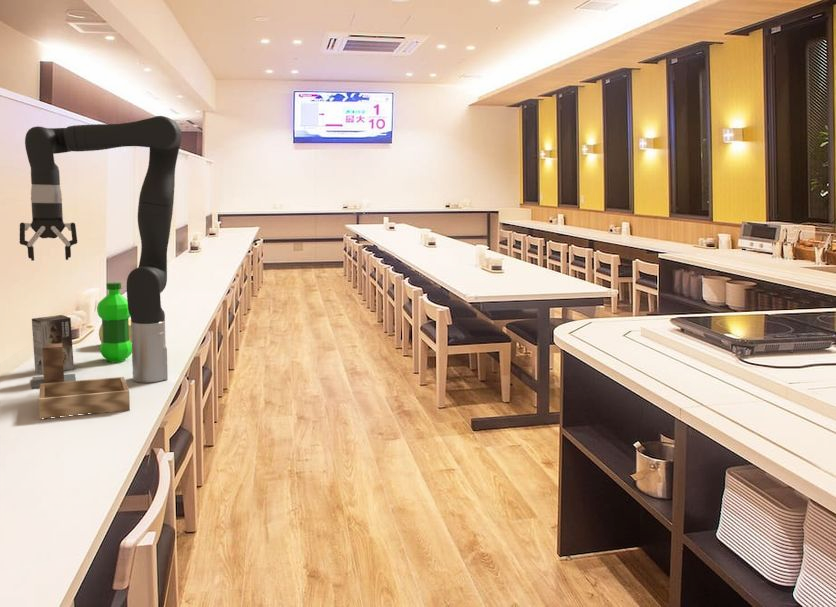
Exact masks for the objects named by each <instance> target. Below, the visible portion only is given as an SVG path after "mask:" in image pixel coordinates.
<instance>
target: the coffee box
mask: <svg viewBox="0 0 836 607" xmlns="http://www.w3.org/2000/svg"><path fill="white" fill-rule="evenodd" d="M71 318H72V317H68V315H64V314H60V315H59V314H58V315H52V316H51V315H50V316H42V317H41V316H40V317H35V318H33V317H32V318H31V327H32V329H31V330H32V343H33V344H32V345H33V346H32V347H33V357H34V359H33V360H34V371H35V372H37V373H40V374H42V375H44V370H43V352H42V346H43V344H58V343H62V347H63V367H64V371H68V370H69V371H70V370H74V369H75V368H74V366H75V364H74V353H73V352H74V350H73V337H72V336H73V335H72V334H73V332H72V319H71Z"/></svg>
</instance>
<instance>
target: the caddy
mask: <svg viewBox="0 0 836 607" xmlns="http://www.w3.org/2000/svg"><path fill="white" fill-rule="evenodd" d="M38 394H39V395H38V405H39V406H38V407H39V420H40V419H42V418H51V417H60V416H69V415H78V414H88V413H100V414H103V413H102V412H109V413H113V412H112V411H119V412H125V410H129V411H130V410H131V409H130V408H131V406H130V404H131V403H130V401H131V400H130V390H129V387H128V383H127V381H126V378H125V377H124V376H117V377H116V376H115V377H106V378H104V377H103V378H95V379H93V378H92V379H83V380H76V381H68V382H56V383H44V384H40V388H39V392H38ZM42 420H43V419H42Z"/></svg>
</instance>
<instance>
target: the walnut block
mask: <svg viewBox="0 0 836 607" xmlns="http://www.w3.org/2000/svg"><path fill="white" fill-rule="evenodd" d="M42 352H43V370H44V374H43V376H44V383H50V382H62V381H64V375H65V372H64V371H65V370H64V367H63V347H62V343H58V344H43V346H42Z"/></svg>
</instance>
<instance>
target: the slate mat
mask: <svg viewBox="0 0 836 607" xmlns="http://www.w3.org/2000/svg"><path fill="white" fill-rule="evenodd" d="M68 381H77V380H76V373H70V374H64V381H62V382H68ZM50 383H56V382H50ZM40 384H44V375H42V376H32V381H31V390H33V389H34V390H35V389H40Z"/></svg>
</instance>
